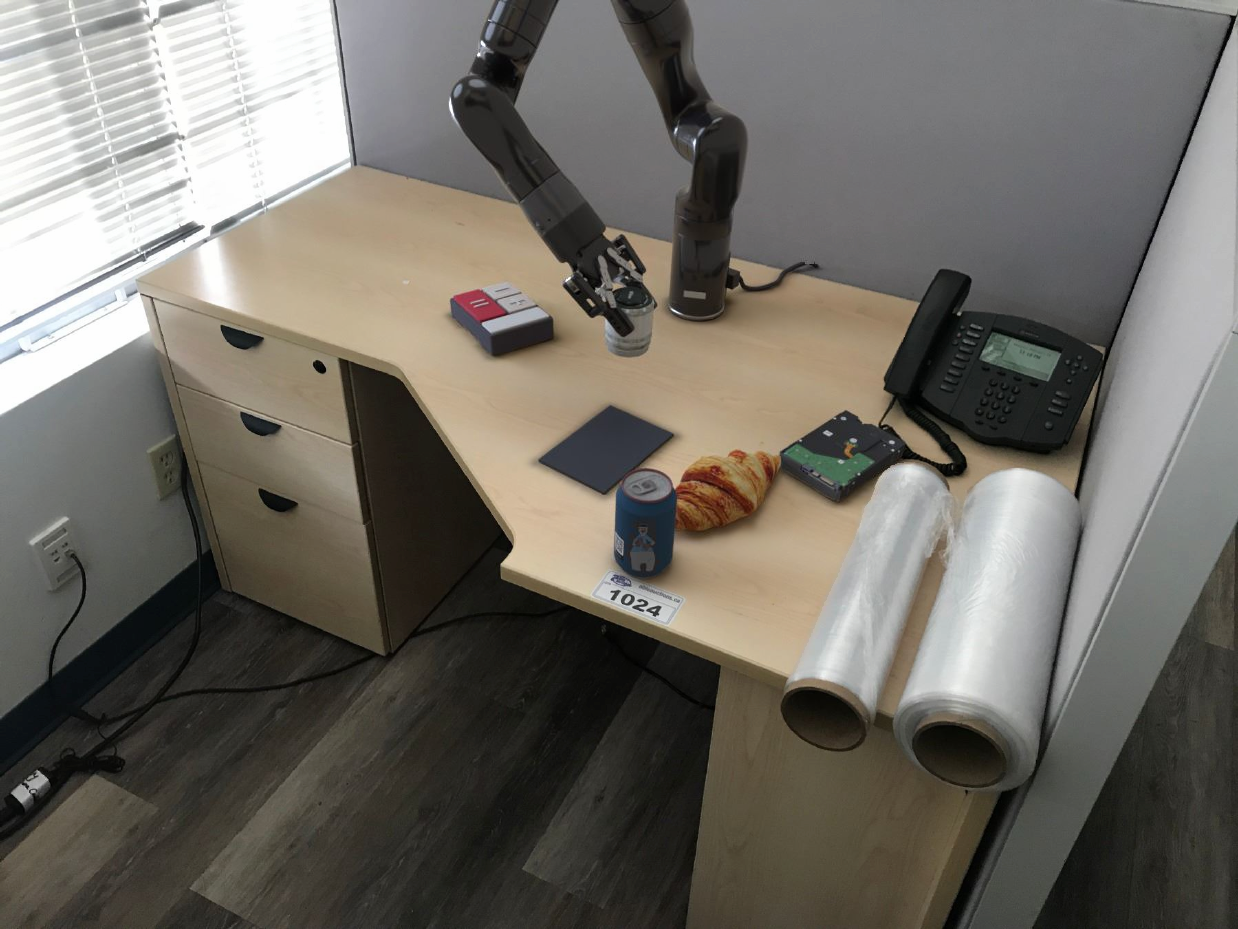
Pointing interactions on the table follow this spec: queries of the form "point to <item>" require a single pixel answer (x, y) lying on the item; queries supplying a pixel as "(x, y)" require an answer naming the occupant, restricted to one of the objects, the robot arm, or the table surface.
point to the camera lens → (641, 316)
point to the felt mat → (606, 449)
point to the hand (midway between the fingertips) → (640, 321)
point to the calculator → (502, 318)
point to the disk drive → (841, 455)
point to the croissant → (723, 488)
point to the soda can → (645, 523)
